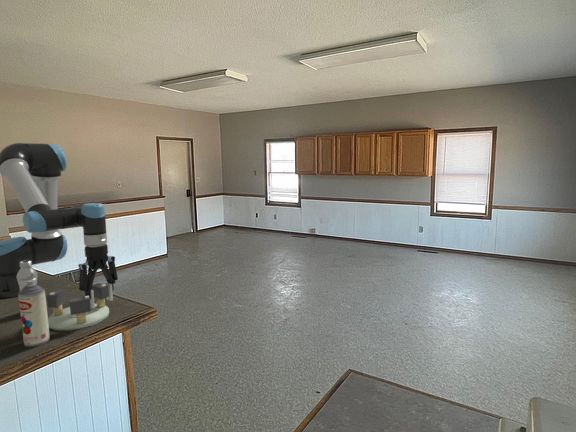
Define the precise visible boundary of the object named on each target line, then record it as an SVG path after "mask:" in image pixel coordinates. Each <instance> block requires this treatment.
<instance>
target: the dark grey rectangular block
mask: <svg viewBox="0 0 576 432" xmlns="http://www.w3.org/2000/svg"><path fill="white" fill-rule="evenodd" d="M65 302H67V292H66V289H65V288H63V289H61V288H60V289H55V290H53V291H52V292H50V293H48V294H47V295H46V303H47V309H48V308H52V310H53V313H54V316H60V315H62V314H63V309H64V308H63V304H64V303H65Z"/></svg>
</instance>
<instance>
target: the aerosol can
mask: <svg viewBox="0 0 576 432" xmlns="http://www.w3.org/2000/svg"><path fill="white" fill-rule="evenodd" d="M17 297H18V304H19V305H18V306H19V312H20V322H21V323H20V324H21V330H22V331H21V333H22V340H23V346H24V347H26V348H34V347H40V346H43V345H44V344H47V343H48V342H49V341H50V340H51V335H50V328H49V324H48V317H49V316H48V304H47V295H46V291H45V288H44V287H42V286H41V285H38V283H37V284H35V283H34V280H30V281H27V285H26V286H25V287H24V288H23V289H22V290H21V291H20V292H19V295H18V296H17Z"/></svg>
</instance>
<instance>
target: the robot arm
mask: <svg viewBox="0 0 576 432" xmlns="http://www.w3.org/2000/svg"><path fill="white" fill-rule="evenodd" d="M67 166H68V163H67V157H66V155H65V152H64V150H63V148H62V147H61V146H59V145H57V144H55V143H54V144H52V143H33V142H32V143H30V142H29V143H26V142H25V143H24V142H15V143H11V144H8V145H7V146H5V147H4V148H2V149H1V151H0V175H1V176H2V177H4V178H6V179H7V181H8V183H9V185H10V186H11V188H12V190H13V192H14V194H15V195H16V197H17V199H18V201H19V203H20V204H21V206H22V207H23V210H24V211H25V212H24V214H23V215H22V223H23V227H24V229H25V231H26V232H27V233H30V235H31V236H30V237H31V238H29V239H27V238H26V236H16V237H15V236H13V237H10V238H6V239H2V240H0V299H5V298H15V297H18V295H19V292H20V288H19V284H18V281H17V274H18V272H19V270H20V269H21V267H20V262H21V261H24V260H31V261H32V266H34V265H35V266H36V265H40V264H44V263H51V262H55V261H59V260H62V259H63V258H65V257H66V255H67V253H68V242H67V238H66V236H65V235H64V234H63V233H62V231H60V230H65V229H66V230H67V229H73V228H74V229H75V228H82V230H83V242H84V245H85V247H84V252H85V253H84V255H85V257H86V260H85V262H83V263H78V269H79V283H78V285H79V286H78V288H79V291H82V292H84V297H85V296H90V305H91V308H94V307H95V304H96V303H95V297H94V291H93V290H91V289H92V285H93V284H94V280H95V275H96V274H97V271H99V270H101V272H102V274H103V276H104V278H105V280H106V282H107V283H104V284H105V285H108V287H109V297H107V298H106V300H107V301H111V302H112V301H114V295H113V292H114V284H116V281H118V280H119V278H118V272H117V268H116V263H115V261H116V257H115V256H113V255H108V253H109V250H108V249H109V248H108V246H109V245H108V244H107V243H108V235H107V223H106V222H107V220H106V211H105V205H104V204H103V203H100V202H99V203H98V202H91V203H90V202H89V203H84V204H82V205H79V206H78V205H77V206H76V205H75V206H71V207H65V208H58V179H59V178H60V177H62V172H64V171H66V170H67Z"/></svg>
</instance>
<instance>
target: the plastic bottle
mask: <svg viewBox="0 0 576 432" xmlns="http://www.w3.org/2000/svg"><path fill="white" fill-rule="evenodd" d="M20 267H21V269H20V270H19V272H18V274H17V281H18V284H19V288H20V291H21V290H22V289H23V288H24V287H25V286H26V285H27V281H30V280H34V283H35V284H37V285H38V272H37V270H36V269H35V268H34V267H33V265H32V261H31V260H24V261H21V262H20Z"/></svg>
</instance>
